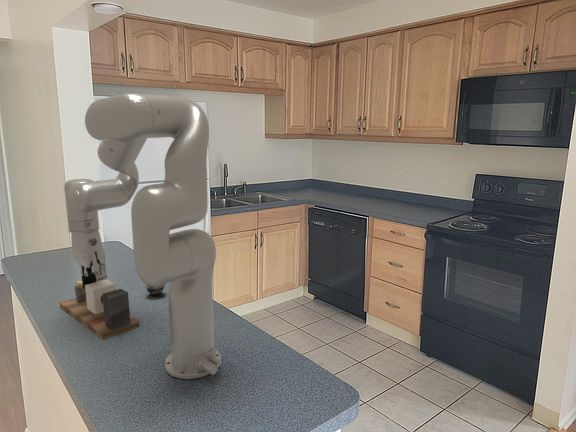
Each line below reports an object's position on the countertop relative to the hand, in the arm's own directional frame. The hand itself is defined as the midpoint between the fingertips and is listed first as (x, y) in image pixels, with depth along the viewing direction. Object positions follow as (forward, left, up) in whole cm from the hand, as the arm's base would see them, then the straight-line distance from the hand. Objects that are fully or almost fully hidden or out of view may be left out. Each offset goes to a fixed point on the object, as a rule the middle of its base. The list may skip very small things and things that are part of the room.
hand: (89, 288), depth 118 cm
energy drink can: (+19, -10, -9) cm, 23 cm away
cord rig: (-1, -1, -8) cm, 9 cm away
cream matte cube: (-4, -1, -5) cm, 7 cm away
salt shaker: (0, -20, -9) cm, 22 cm away
